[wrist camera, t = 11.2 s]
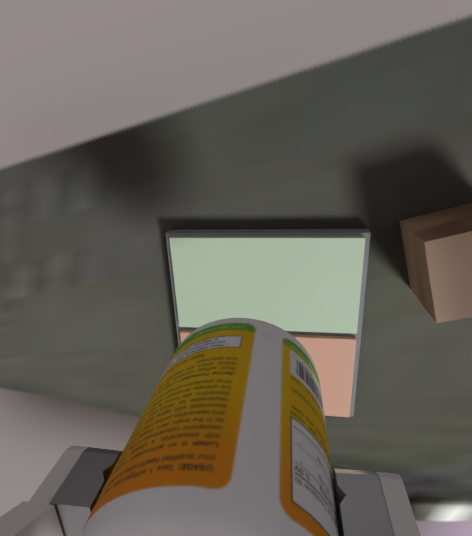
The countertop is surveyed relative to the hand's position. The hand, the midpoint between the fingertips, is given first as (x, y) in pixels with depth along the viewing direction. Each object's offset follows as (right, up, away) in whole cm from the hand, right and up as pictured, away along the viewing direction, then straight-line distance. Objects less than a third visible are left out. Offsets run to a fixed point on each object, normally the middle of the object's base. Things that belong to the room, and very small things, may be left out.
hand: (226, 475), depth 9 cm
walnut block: (+11, +7, +10) cm, 16 cm away
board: (+2, +2, +13) cm, 13 cm away
